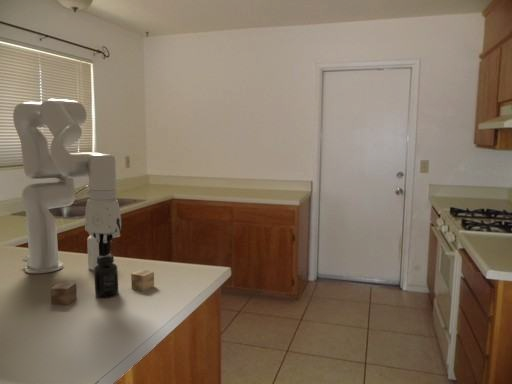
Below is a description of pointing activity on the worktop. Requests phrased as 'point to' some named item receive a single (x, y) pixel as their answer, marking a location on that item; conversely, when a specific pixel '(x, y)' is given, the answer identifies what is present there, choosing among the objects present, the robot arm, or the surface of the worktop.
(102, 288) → the supplement bottle
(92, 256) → the pill bottle
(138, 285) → the maple block
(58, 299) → the walnut block
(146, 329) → the worktop surface
